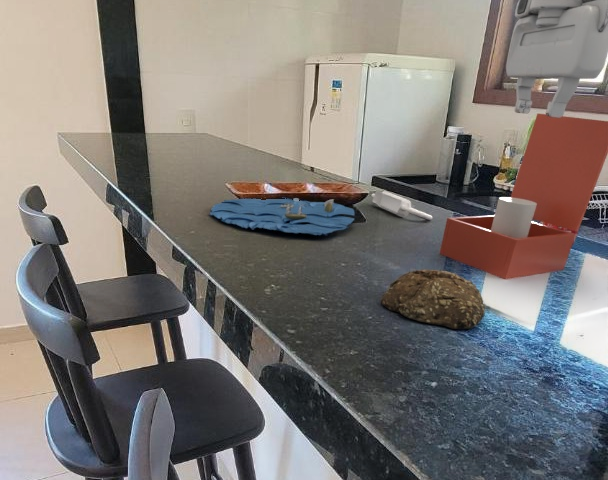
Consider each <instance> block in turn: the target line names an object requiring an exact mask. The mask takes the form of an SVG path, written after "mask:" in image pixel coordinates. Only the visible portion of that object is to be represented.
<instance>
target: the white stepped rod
mask: <svg viewBox="0 0 608 480" xmlns="http://www.w3.org/2000/svg"><path fill="white" fill-rule="evenodd" d="M371 198H372V201H371V202H372V203H374V204H376V205H377V206H378V207H379V208H380V209H383V210H385V211H388V212H390V213H392V214H394V215H396V216H399V217H402V218H405V217H408V215H409V214H412V215H414V216H417V217H420V218H423V219H425V220H428V221H431V220H433V216H432V215H431V214H429V213H426V212H424V211H421V210H419V209H416V208H413V207H412V201H410V200H409V199H407V198H405V197H402V196H399V195H396V194H394V193H391V192H389V191H387V190H383V191H379V190H375V193H371Z"/></svg>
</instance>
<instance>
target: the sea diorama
mask: <svg viewBox="0 0 608 480" xmlns="http://www.w3.org/2000/svg"><path fill="white" fill-rule="evenodd" d="M284 198H285V199H266V200H261V199H262V198H261V199H256V198H253V199H251V198H245V199H244V198H236V199H225V200H224V201H221V202H219V203H215V204H214V206H212V207H211V210H210V211H211V212H208V214H209V215H210V216H214V217H215V218H217V219H220V221H221V222H223V223H226V224H233V225H237V226H239V227H241V228H242V229H243V228H245V229H248V228H250V229H251V230H255V229H256V228H259V229H262V228H263V229H267V230H270V231H272V230H273V231H277V232H283V233H293V234H299V233H301V234H309V235H312V236H317V235H318V236H321V235H323V236H328V234H330V233H331V234H332V233H333V232H336V231H344V230H346V229H349V227H350V226H348V225H352V223H353V221H355V218H353V217H350V216H355V210H354V208H351V207H347V206H345V205H343V204H340V203H336V202H334V200H335V199H329V200H326V201H325V202H323V201H308V200H300V198H297V197H295V198H293V200H292V198H287V197H284ZM286 198H287V199H286ZM299 200H300V201H299ZM344 215H349V216H344ZM287 222H288V223H287Z"/></svg>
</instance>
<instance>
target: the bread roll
mask: <svg viewBox="0 0 608 480" xmlns="http://www.w3.org/2000/svg"><path fill="white" fill-rule="evenodd" d="M380 303H381V304H382V306H383V307H385V308H387V309H388V310H389V311H392V312H395V313H399V314H400V315H402V316H404V317H405V318H407V319H410V320H413V321H417V322H420V323H423V324H424V323H425V324H430V325H435V326H443V327H446V328H449V329H451V330H469V329H473V328H475V327H476V326H478V325H479V324H480V322H481V321H483V318H484V317H485V314H486V305H485V303H484V298H483V296H482V294H481V292H480V290H479V289H478V288H477V285H476V284H474V283H473V281H471V280H468V279H466V278H464V277H463V276H461V275H458V274H456V273H453V272H450V271H446V270H436V269H427V268H426V269H425V268H424V269H415V270H412V271H409V272H405V273H403V274H402V275H400V276H399V277H398V278H396V279H395V280H393V281H392V282H391V283H390V284H389V286H388V288H387V290H386V292H384V293H383V295H381V297H380Z"/></svg>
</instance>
